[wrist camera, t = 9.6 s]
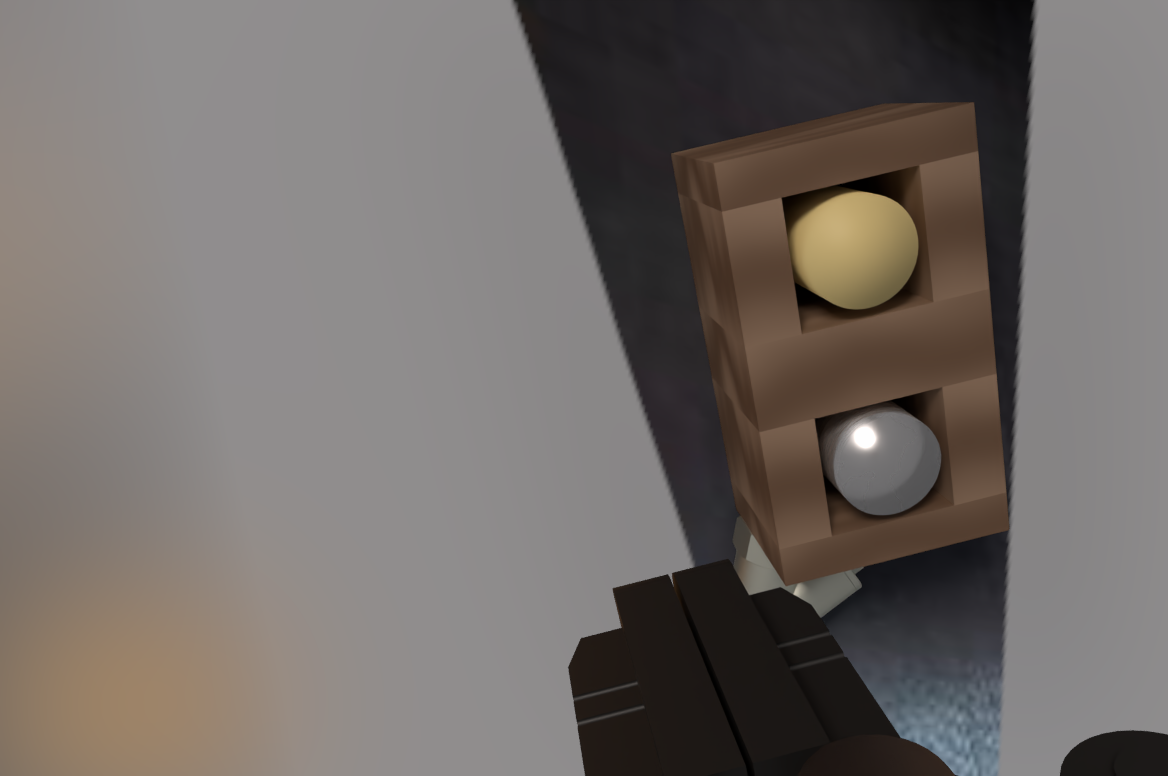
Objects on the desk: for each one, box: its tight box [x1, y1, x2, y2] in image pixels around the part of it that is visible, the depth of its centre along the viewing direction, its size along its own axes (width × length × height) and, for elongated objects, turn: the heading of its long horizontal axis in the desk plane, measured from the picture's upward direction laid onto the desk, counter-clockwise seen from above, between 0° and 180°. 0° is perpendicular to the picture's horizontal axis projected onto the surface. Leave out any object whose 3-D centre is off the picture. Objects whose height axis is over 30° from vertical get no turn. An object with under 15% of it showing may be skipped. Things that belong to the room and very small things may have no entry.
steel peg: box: [815, 400, 941, 515], centre depth 41 cm, size 4×4×8 cm
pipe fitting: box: [733, 516, 864, 618], centre depth 47 cm, size 8×4×7 cm
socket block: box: [671, 102, 1009, 586], centre depth 40 cm, size 18×10×8 cm, turn 12°
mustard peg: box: [781, 185, 918, 309], centre depth 39 cm, size 4×4×8 cm
